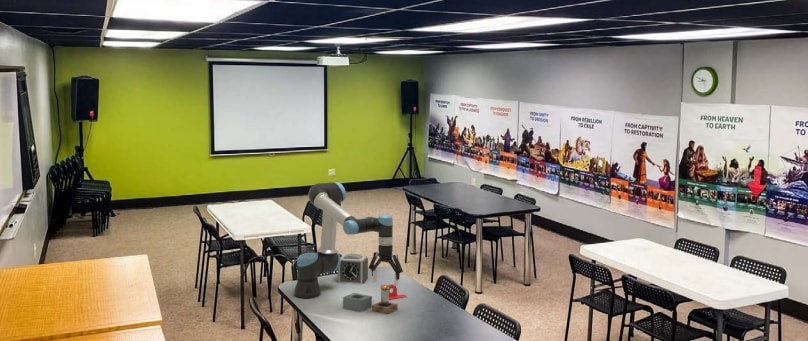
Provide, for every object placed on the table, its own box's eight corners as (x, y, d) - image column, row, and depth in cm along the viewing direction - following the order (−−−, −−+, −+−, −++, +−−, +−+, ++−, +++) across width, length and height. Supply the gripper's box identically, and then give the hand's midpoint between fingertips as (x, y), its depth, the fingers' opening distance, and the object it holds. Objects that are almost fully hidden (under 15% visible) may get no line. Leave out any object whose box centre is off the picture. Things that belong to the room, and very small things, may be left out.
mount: (371, 311, 337) (371, 305, 337) (381, 306, 346) (382, 301, 345) (387, 314, 332) (387, 308, 332) (397, 309, 340) (397, 303, 340)
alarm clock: (335, 285, 387) (335, 256, 386) (341, 280, 400) (341, 251, 399) (364, 287, 384) (365, 257, 383) (369, 282, 397) (369, 253, 396)
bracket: (389, 300, 357) (389, 287, 356) (385, 298, 361) (385, 285, 360) (407, 298, 363) (407, 284, 362) (403, 296, 367) (404, 282, 366)
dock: (342, 307, 342) (343, 297, 341) (353, 303, 350) (353, 292, 350) (361, 311, 336) (361, 300, 335) (371, 307, 344) (371, 296, 344)
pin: (378, 310, 338) (379, 286, 337) (383, 308, 342) (383, 284, 341) (386, 312, 336) (386, 287, 335) (390, 309, 340) (390, 285, 338)
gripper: (362, 243, 339) (362, 282, 341) (402, 248, 326) (401, 288, 328) (369, 241, 345) (369, 279, 347) (409, 245, 333) (409, 285, 334)
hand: (385, 283), depth 337 cm, fingers open, 13 cm apart
